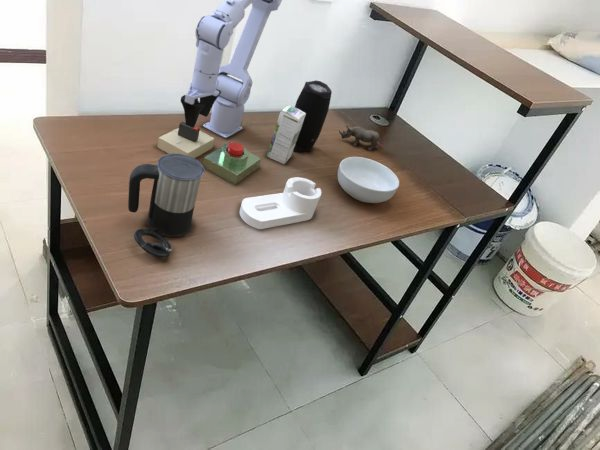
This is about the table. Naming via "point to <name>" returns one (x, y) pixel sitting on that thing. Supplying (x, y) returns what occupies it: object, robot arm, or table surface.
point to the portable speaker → (312, 113)
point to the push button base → (231, 164)
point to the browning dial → (188, 132)
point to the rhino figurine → (361, 136)
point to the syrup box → (286, 134)
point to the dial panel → (185, 144)
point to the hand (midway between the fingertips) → (196, 120)
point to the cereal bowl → (367, 179)
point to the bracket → (282, 205)
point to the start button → (235, 149)
